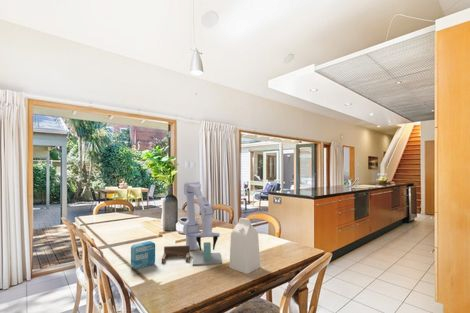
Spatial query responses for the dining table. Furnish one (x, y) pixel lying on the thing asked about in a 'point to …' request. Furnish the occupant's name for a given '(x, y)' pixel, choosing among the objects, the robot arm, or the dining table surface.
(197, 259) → the board
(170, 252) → the bay
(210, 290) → the dining table surface
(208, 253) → the block
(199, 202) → the robot arm
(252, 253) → the milk
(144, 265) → the data package
